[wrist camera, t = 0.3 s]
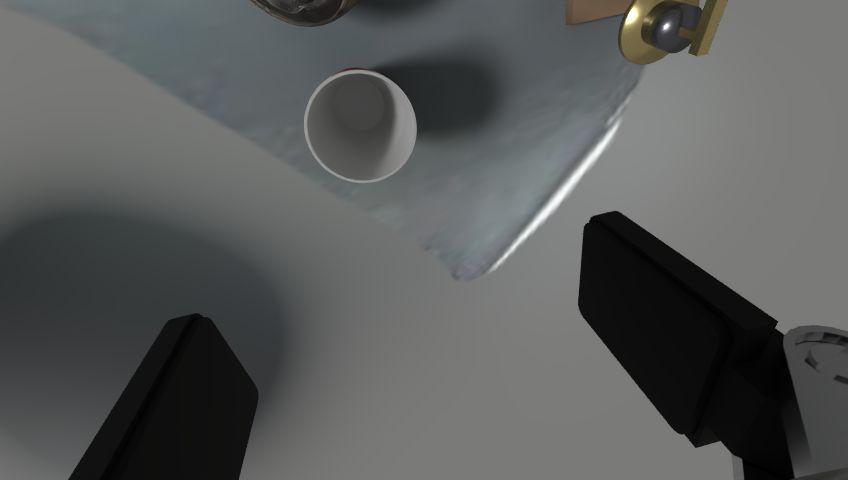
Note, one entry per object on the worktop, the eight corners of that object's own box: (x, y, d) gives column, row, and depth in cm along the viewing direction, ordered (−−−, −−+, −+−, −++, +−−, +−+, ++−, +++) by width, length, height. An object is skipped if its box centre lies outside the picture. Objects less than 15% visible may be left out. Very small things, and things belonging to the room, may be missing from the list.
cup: (414, 81, 35) (434, 99, 26) (383, 158, 38) (392, 196, 29) (331, 42, 32) (323, 48, 23) (305, 128, 35) (290, 161, 27)
